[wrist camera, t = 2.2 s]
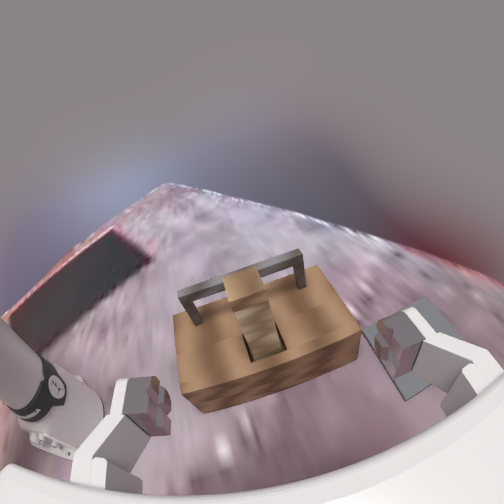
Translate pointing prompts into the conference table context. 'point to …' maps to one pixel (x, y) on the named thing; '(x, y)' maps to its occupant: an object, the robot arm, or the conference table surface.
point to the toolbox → (288, 329)
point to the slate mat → (409, 381)
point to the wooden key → (253, 312)
